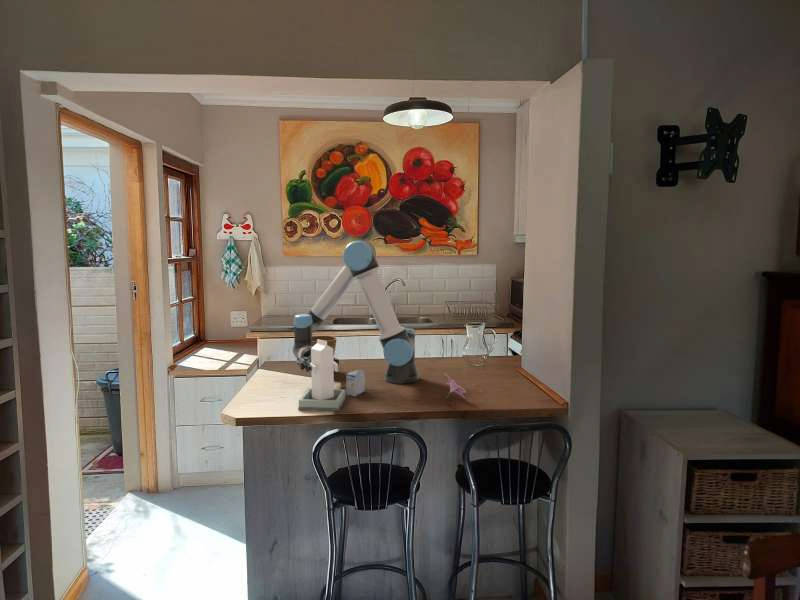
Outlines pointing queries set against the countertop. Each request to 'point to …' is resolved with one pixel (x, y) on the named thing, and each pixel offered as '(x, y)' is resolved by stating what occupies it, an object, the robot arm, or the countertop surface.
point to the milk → (322, 371)
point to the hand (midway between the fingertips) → (326, 369)
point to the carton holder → (322, 401)
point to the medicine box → (355, 382)
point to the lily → (455, 387)
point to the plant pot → (330, 340)
